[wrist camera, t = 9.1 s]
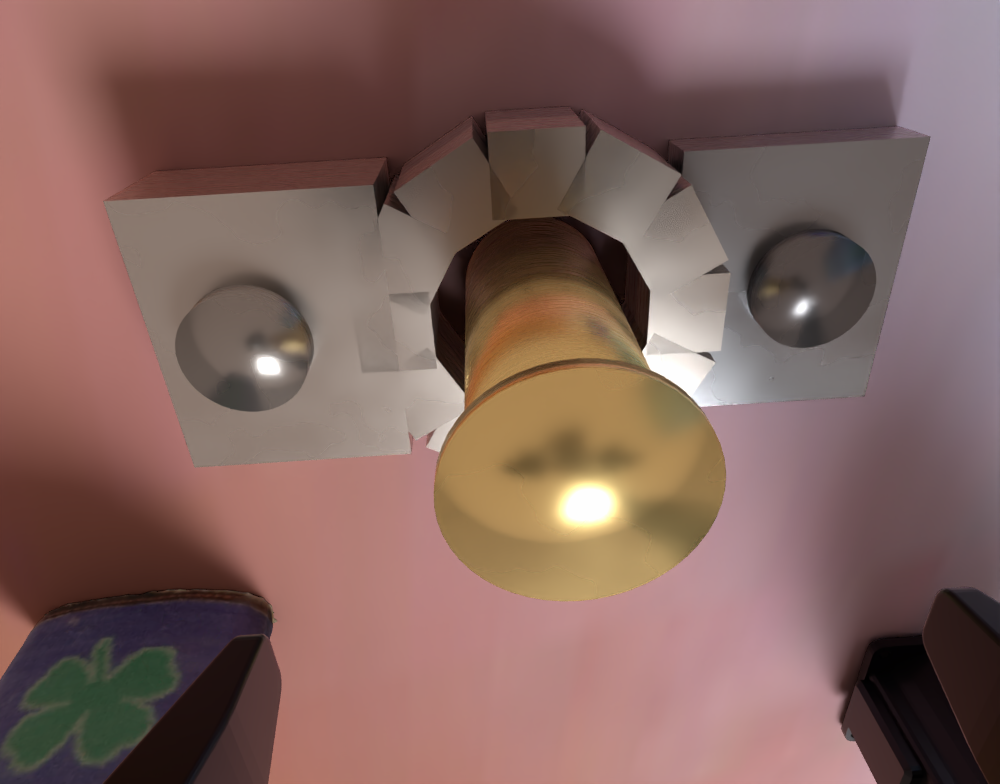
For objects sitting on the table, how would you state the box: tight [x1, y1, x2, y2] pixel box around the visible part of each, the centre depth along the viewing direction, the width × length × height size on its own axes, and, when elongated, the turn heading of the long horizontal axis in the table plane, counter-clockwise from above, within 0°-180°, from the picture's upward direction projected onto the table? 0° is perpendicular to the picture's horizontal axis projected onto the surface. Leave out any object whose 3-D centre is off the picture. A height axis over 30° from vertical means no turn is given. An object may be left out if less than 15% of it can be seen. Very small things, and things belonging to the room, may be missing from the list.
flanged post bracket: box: [103, 106, 930, 467], centre depth 19 cm, size 20×10×4 cm, turn 93°
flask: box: [0, 589, 277, 784], centre depth 22 cm, size 9×3×11 cm, turn 93°
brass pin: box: [434, 217, 726, 601], centre depth 16 cm, size 5×5×10 cm
